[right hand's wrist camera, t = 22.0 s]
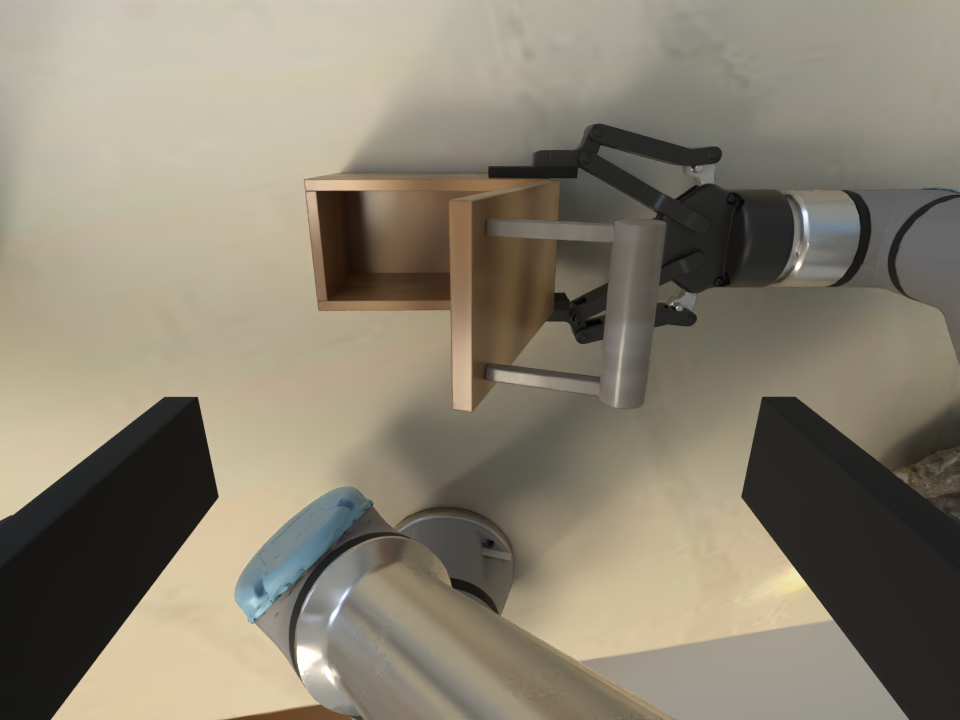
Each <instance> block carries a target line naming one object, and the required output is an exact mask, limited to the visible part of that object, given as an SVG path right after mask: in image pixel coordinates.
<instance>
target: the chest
mask: <svg viewBox="0 0 960 720" xmlns="http://www.w3.org/2000/svg"><path fill="white" fill-rule="evenodd" d="M543 180H551V179H548V178H489V177H488V174H423V173H337V174H331V175H326V176H320V177H314V178H309V179H304V184H305V191H306V192H305V193H306V202H307V211H308V220H309V229H310V238H311V248H312V257H313V266H314V275H315V284H316V293H317V301H318V310H319V311H371V310H451V292H450V234H449V200H451V199H455V198H460V197H465V196H470V195H475V194H480V193H485V192H490V191H495V190H499V189H504V188H509V187H514V186H519V185H524V184H529V183H534V182H538V181H543Z"/></svg>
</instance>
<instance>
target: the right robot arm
mask: <svg viewBox="0 0 960 720" xmlns="http://www.w3.org/2000/svg"><path fill="white" fill-rule="evenodd" d="M218 497H219V496H218V491H217V487H216V482H215V477H214V472H213V468H212V463H211V458H210V453H209V448H208V444H207V439H206V434H205V429H204V424H203V420H202V415H201V410H200V405H199V400H198V397H164V398H163V399H161V400H160V401H159V402H157V403H156V404H155V405H154V406H152V407H151V408H150V409H148V410H147V411H146V412H145V413H143V414H142V415H141V416H140V417H138V418H137V419H136V420H134V421H133V422H132V423H131V424H129V425H128V426H127V427H125V428H124V429H123V430H122V431H120V432H119V433H118V434H116V435H115V436H114V437H113V438H111V439H110V440H109V441H108V442H106V443H105V444H104V445H102V446H101V447H100V448H99V449H97V450H96V451H95V452H93V453H92V454H91V455H90V456H88V457H87V458H86V459H84V460H83V461H82V462H81V463H79V464H78V465H77V466H76V467H74V468H73V469H72V470H70V471H69V472H68V473H67V474H65V475H64V476H63V477H61V478H60V479H59V480H58V481H56V482H55V483H54V484H52V485H51V486H50V487H49V488H47V489H46V490H45V491H43V492H42V493H41V494H40V495H38V496H37V497H36V498H35V499H33V500H32V501H31V502H29V503H28V504H27V505H26V506H24V507H23V508H22V509H20V510H19V511H18V512H17V513H15V514H14V515H10V516H9V517H7V518H5V519H3V520H1V521H0V720H51V719H52V717H53V716H54V715H55V713H56V712H57V711H58V709H59V708H60V707H61V705H62V704H63V703H64V701H65V700H66V699H67V697H68V696H69V695H70V693H71V692H72V691H73V689H74V688H75V687H76V686H77V684H78V683H79V682H80V680H81V679H82V678H83V676H84V675H85V674H86V672H87V671H88V670H89V668H90V667H91V666H92V664H93V663H94V662H95V660H96V659H97V658H98V656H99V655H100V654H101V652H102V651H103V650H104V648H105V647H106V646H107V644H108V643H109V642H110V640H111V639H112V638H113V636H114V635H115V634H116V632H117V631H118V630H119V628H120V627H121V626H122V625H123V623H124V622H125V621H126V619H127V618H128V617H129V615H130V614H131V613H132V611H133V610H134V609H135V607H136V606H137V605H138V603H139V602H140V601H141V599H142V598H143V597H144V595H145V594H146V593H147V591H148V590H149V589H150V587H151V586H152V585H153V583H154V582H155V581H156V579H157V578H158V577H159V575H160V574H161V573H162V571H163V570H164V569H165V568H166V566H167V565H168V564H169V562H170V561H171V560H172V558H173V557H174V556H175V554H176V553H177V552H178V550H179V549H180V548H181V546H182V545H183V544H184V542H185V541H186V540H187V538H188V537H189V536H190V534H191V533H192V532H193V530H194V529H195V528H196V526H197V525H198V524H199V522H200V521H201V520H202V518H203V517H204V516H205V514H206V513H207V512H208V511H209V509H210V508H211V507H212V505H213V504H214V503H215V501H216V500H217V499H218ZM741 497H742V499H743V500H744V501H745V503H746V504H747V505H748V507H749V508H750V509H751V511H752V512H753V513H754V515H755V516H756V517H757V518H758V520H759V521H760V522H761V524H762V525H763V526H764V528H765V529H766V530H767V532H768V533H769V534H770V536H771V537H772V538H773V540H774V541H775V542H776V544H777V545H778V546H779V548H780V549H781V550H782V552H783V553H784V554H785V556H786V557H787V558H788V560H789V561H790V562H791V564H792V565H793V566H794V568H795V569H796V570H797V572H798V573H799V574H800V575H801V577H802V578H803V579H804V581H805V582H806V583H807V585H808V586H809V587H810V589H811V590H812V591H813V593H814V594H815V595H816V597H817V598H818V599H819V601H820V602H821V603H822V605H823V606H824V607H825V609H826V610H827V611H828V613H829V614H830V615H831V617H832V618H833V619H834V621H835V622H836V623H837V624H838V626H839V627H840V628H841V630H842V631H843V632H844V634H845V635H846V636H847V638H848V639H849V640H850V642H851V643H852V644H853V646H854V647H855V648H856V650H857V651H858V652H859V654H860V655H861V656H862V658H863V659H864V660H865V662H866V663H867V664H868V666H869V667H870V668H871V670H872V671H873V672H874V674H875V675H876V676H877V678H878V679H879V680H880V682H881V683H882V684H883V686H884V687H885V688H886V689H887V691H888V692H889V693H890V695H891V696H892V697H893V699H894V700H895V701H896V703H897V704H898V705H899V707H900V708H901V709H902V711H903V712H904V713H905V715H906V716H907V717H908V719H909V720H960V518H958V517H956V516H954V515H952V514H950V513H943V512H942V511H941V510H940V509H938V508H937V507H936V506H934V505H933V504H932V503H931V502H929V501H928V500H927V499H925V498H924V497H923V496H922V495H920V494H919V493H918V492H917V491H915V490H914V489H913V488H911V487H910V486H909V485H908V484H906V483H905V482H904V481H902V480H901V479H900V478H899V477H897V476H896V475H895V474H893V473H892V472H891V471H890V470H888V469H887V468H886V467H884V466H883V465H882V464H881V463H879V462H878V461H877V460H876V459H874V458H873V457H872V456H870V455H869V454H868V453H867V452H865V451H864V450H863V449H861V448H860V447H859V446H858V445H856V444H855V443H854V442H852V441H851V440H850V439H849V438H847V437H846V436H845V435H844V434H842V433H841V432H840V431H838V430H837V429H836V428H835V427H833V426H832V425H831V424H829V423H828V422H827V421H826V420H824V419H823V418H822V417H820V416H819V415H818V414H817V413H815V412H814V411H813V410H812V409H810V408H809V407H808V406H806V405H805V404H804V403H803V402H801V401H800V400H799V399H797V398H796V397H762V400H761V405H760V410H759V415H758V420H757V424H756V429H755V434H754V439H753V444H752V448H751V453H750V458H749V463H748V467H747V472H746V477H745V482H744V487H743V491H742V496H741Z"/></svg>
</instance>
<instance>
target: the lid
mask: <svg viewBox="0 0 960 720" xmlns="http://www.w3.org/2000/svg"><path fill="white" fill-rule="evenodd" d="M559 196H560V180H543V181H538V182H534V183H529V184H524V185H519V186H514V187H509V188H504V189H499V190H495V191H490V192H485V193H480V194H475V195H470V196H465V197H460V198H455V199H451V200H449V234H450V292H451V349H452V407H453V409H454V410H461V411H467V412H473V411H474V410H475V409H476V407H477V406H478V405H479V404H480V402H481V401H482V400H483V399H484V397H485V396H486V395H487V394H488V392H489V391H490V390H491V389H492V388H493V386H494V385H495V384H496V383H497V382H502V383H509V384H516V385H524V386H531V387H538V388H545V389H552V390H559V391H566V392H574V393H581V394H588V395H595V396H598V398H599V400H600V401H601V402H602V403H603V404H605V405H607V406H610V407H614V408H619V409H634V408H638V407H640V406H642V405H643V404H644V402H645V394H646V386H647V378H648V370H649V362H650V354H651V346H652V338H653V330H654V322H655V314H656V306H657V298H658V290H659V282H660V274H661V266H662V258H663V250H664V242H665V234H666V226H667V224H666V222H664V221H660V220H652V219H619V220H615V221H614V223H594V222H571V221H558V215H559ZM557 240H570V241H588V242H607V243H612V248H611V259H610V270H609V282H608V293H607V304H606V315H605V326H604V337H603V348H602V359H601V371H600V377H595V376H588V375H580V374H572V373H564V372H557V371H549V370H541V369H533V368H526V367H518V366H510V365H511V364H512V363H513V361H514V360H515V359H516V358H517V356H518V355H519V354H520V353H521V351H522V350H523V349H524V348H525V346H526V345H527V344H528V343H529V341H530V340H531V339H532V338H533V337H534V335H535V334H536V333H537V332H538V330H539V329H540V328H541V327H542V325H543V324H544V323H545V322H546V320H547V319H548V318H549V317H550V315H551V314H552V313H553V308H554V289H555V271H556V252H557Z"/></svg>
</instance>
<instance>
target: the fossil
mask: <svg viewBox="0 0 960 720" xmlns="http://www.w3.org/2000/svg"><path fill="white" fill-rule="evenodd" d="M891 472H892V473H893V474H895V475H896V476H897V477H899V478H900V479H901V480H902V481H904V482H905V483H906V484H908V485H909V486H910V487H911V488H913V489H914V490H915V491H917V492H918V493H919V494H920V495H922V496H923V497H924V498H925V499H927V500H928V501H929V502H931V503H932V504H933V505H934V506H936V507H937V508H938V509H940V510H941V511H942V512H943V513H950V514H952V515H954V516H956V517H958V518H960V446H957V447H954V448H950V449H945V450H943V451H941V450H939V451H938V452H936V453H935V454H930V455H928V456H926V457H925V458H924V459H923V460H922V461H920V462H918V463H916V464H914V465H905V466H903V467H901V468H900V469H896V470H893V471H891Z"/></svg>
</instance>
